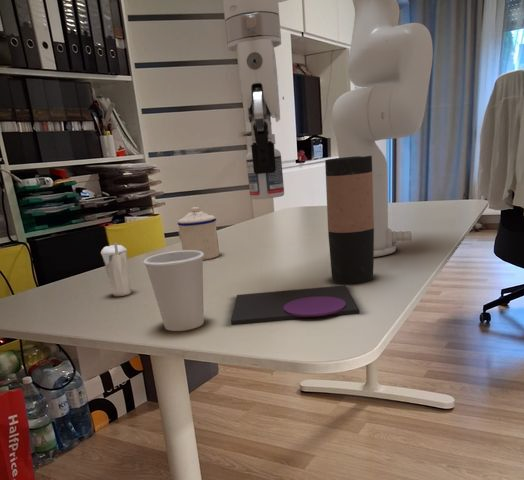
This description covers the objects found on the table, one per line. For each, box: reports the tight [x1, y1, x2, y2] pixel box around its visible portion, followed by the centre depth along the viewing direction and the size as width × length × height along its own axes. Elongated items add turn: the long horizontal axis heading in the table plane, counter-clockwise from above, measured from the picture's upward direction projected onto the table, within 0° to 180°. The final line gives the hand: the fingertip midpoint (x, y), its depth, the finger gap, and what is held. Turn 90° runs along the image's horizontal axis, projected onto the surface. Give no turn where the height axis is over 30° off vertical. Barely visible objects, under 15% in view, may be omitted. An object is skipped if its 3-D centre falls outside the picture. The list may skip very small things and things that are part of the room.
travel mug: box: [324, 156, 375, 285], centre depth 88 cm, size 8×8×20 cm
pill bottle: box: [245, 133, 285, 200], centre depth 78 cm, size 5×5×9 cm
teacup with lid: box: [177, 206, 220, 261], centre depth 124 cm, size 12×9×12 cm
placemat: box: [230, 284, 360, 325], centre depth 79 cm, size 18×16×1 cm
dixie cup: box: [143, 250, 205, 332], centre depth 74 cm, size 8×8×10 cm
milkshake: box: [100, 241, 132, 297], centre depth 95 cm, size 4×5×10 cm
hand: (265, 170), depth 79 cm, fingers closed on pill bottle, 5 cm apart
